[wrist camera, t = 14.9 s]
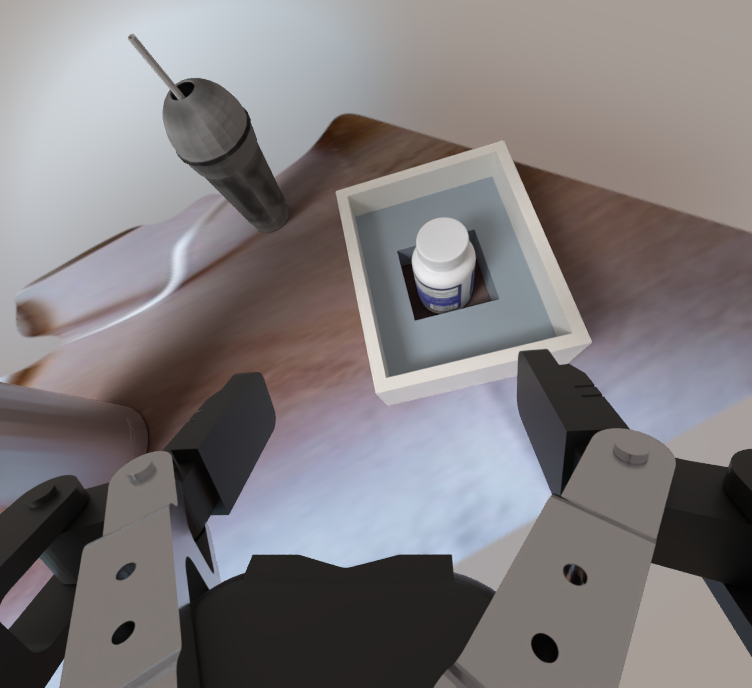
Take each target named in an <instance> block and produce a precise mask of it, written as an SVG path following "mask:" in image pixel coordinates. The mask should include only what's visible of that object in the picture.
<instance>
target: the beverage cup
mask: <svg viewBox="0 0 752 688" xmlns="http://www.w3.org/2000/svg"><path fill="white" fill-rule="evenodd" d="M128 40H129V41H130V42H131V43H132V45H133V46H134V47H135V48H136V49H137V51H138V52H139V53H140V54H141V55H142V57H143V58H144V59H145V60H146V61H147V62H148V64H149V65H150V66H151V67H152V68H153V70H154V71H155V72H156V73H157V74H158V76H159V77H160V78H161V79H162V80H163V82H164V83H165V84H166V85H167V86H168V87H169V89H170V91H169V92H168V94H167V96H166V98H165V101H164V106H163V122H164V126H165V130H166V133H167V136H168V138H169V140H170V142H171V144H172V146H173V147H174V148H175V150H176V153H177V154H178V156H179V157H180V158H181V160H183V162H184V163H187V164H189V165H190V167H191V168H193V169H194V170H195V171H196V172H197V173H199V174H200V175H201V176H204V177H205V178H206V179H207V180H208V181H209V182H210V183H211V184H212V185H213V186H214V187H215V188H216V189H217V190H218V191H219V192H220V193H221V194H222V195H223V196H224V197H225V198H226V199H227V200H228V201H229V202H230V203H231V204H232V205H233V206H234V207H235V208H236V209H237V210H238V211H239V212H240V213H241V214H242V215H243V216H244V217H245V218H246V219H247V220H248V221H249V222H250V223H251V224H253V225H254V226H255V227H256V228H257V229H258V230H259V231H261V232H264V233H270V232H274V231H276V230H278V229H280V228H281V227H282V226H284V224H285V223H286V222H287V220H288V217H289V209H288V207H287V205H286V203H285V200H284V197H283V195H282V193H281V191H280V189H279V187H278V185H277V182H276V180H275V178H274V176H273V174H272V172H271V170H270V168H269V166H268V164H267V162H266V160H265V158H264V155H263V153H262V151H261V149H260V147H259V145H258V143H257V138H256V135H255V132H254V130H253V127H252V125H251V122H250V121H251V119H250V117H249V115H248V112H247V111H246V110H245V109H244V108H243V107H242V106H241V104H240V103H239V101H238V100H237V99H236V98H235V97H234V96H233V95H232V94H231V93H229V92H228V91H227V90H226V89H225V88H223V87H222V86H220V85H219V84H217V83H214V82H212V81H209V80H206V79H201V78H191V79H185V80H182V81H181V82H179V83H177V84H176V85H175V84H174V83H173V82H172V80H171V79H170V78H169V77H168V76H167V74H166V73H165V72H164V71H163V70H162V68H161V67H160V66H159V64H158V63H157V62H156V61H155V60H154V58H153V57H152V56H151V55H150V54H149V52H148V51H147V50H146V49H145V47H144V46H143V45H142V44H141V42H140V41H139V40H138V39H137V38H136V37H135V35H134V34H131V35H129V37H128Z"/></svg>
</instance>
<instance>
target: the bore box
mask: <svg viewBox="0 0 752 688" xmlns="http://www.w3.org/2000/svg"><path fill="white" fill-rule="evenodd" d="M336 196H337V201H338V206H339V211H340V216H341V221H342V226H343V231H344V236H345V241H346V246H347V251H348V256H349V261H350V266H351V271H352V276H353V281H354V286H355V291H356V296H357V301H358V306H359V311H360V316H361V321H362V326H363V331H364V336H365V341H366V347H367V352H368V357H369V362H370V367H371V372H372V377H373V382H374V387H375V392H376V394H377V395H378V396H379V397H380V398H381V399H382V400H383V401H384V402H385V403H386V404H387V405H388V406H390V405H394V404H398V403H403V402H407V401H411V400H416V399H420V398H424V397H429V396H433V395H437V394H441V393H446V392H450V391H454V390H459V389H463V388H467V387H472V386H476V385H480V384H484V383H489V382H493V381H497V380H502V379H506V378H510V377H515V376H517V371H518V354H519V352H520V351H525V350H537V349H548V350H549V351H550V352H551V354H552V355H553V357H554V358H555V360H556V361H557V362H558V364H559V365H563V364H568V363H569V362H570V361H571V360H572V359H573V358H575V357H576V356H577V355H578V354H579V353H580V352H582V351H583V350H584V349H585V348H586V347H587V346H589V345H590V344H591V343H592V341H591V338H590V336H589V334H588V332H587V329H586V327H585V325H584V322H583V320H582V318H581V316H580V313H579V311H578V309H577V306H576V304H575V302H574V300H573V297H572V295H571V293H570V290H569V288H568V286H567V284H566V281H565V279H564V277H563V274H562V272H561V270H560V268H559V265H558V263H557V261H556V258H555V256H554V254H553V252H552V249H551V247H550V245H549V242H548V240H547V238H546V236H545V233H544V231H543V229H542V226H541V224H540V222H539V220H538V217H537V215H536V213H535V210H534V208H533V206H532V204H531V201H530V199H529V197H528V194H527V192H526V190H525V188H524V185H523V183H522V181H521V178H520V176H519V174H518V172H517V169H516V167H515V165H514V162H513V160H512V158H511V156H510V153H509V151H508V149H507V146H506V144H505V142H504V140H502V141H499V142H496V143H493V144H489V145H486V146H483V147H480V148H476V149H473V150H469V151H466V152H463V153H460V154H456V155H453V156H450V157H446V158H443V159H440V160H437V161H433V162H430V163H427V164H423V165H420V166H417V167H413V168H410V169H407V170H404V171H400V172H397V173H394V174H390V175H387V176H384V177H381V178H377V179H374V180H371V181H367V182H364V183H361V184H358V185H354V186H351V187H348V188H344V189H341V190H338V191H336ZM443 217H446V218H452V219H455V220H457V221H459V222H461V223H462V224H463V225H464V226H465V228H466V229H467V232H468V235H469V241H470V242H471V244H472V245H473V248H474V250H475V255H476V259H477V261H478V264H479V267H480V270H481V273H482V276H483V279H484V282H485V285H486V287H487V290H488V293H489V296H490V299H491V301H490V302H487V303H483V304H479V305H475V306H471V307H467V308H463V309H459V310H455V311H451V312H448V313H444V314H440V315H436V316H432V317H428V318H424V319H420V320H416V321H415V320H414V316H413V312H412V308H411V304H410V300H409V296H408V292H407V288H406V285H405V281H404V277H403V273H402V269H401V267H402V266H406V265H409V264H412V256H413V252H414V249H415V248H416V238H417V234H418V232H419V230H420V229H421V228H422V227H423V226H424V225H425V224H426V223H427V222H429V221H431V220H433V219H436V218H443Z"/></svg>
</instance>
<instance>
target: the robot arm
mask: <svg viewBox="0 0 752 688" xmlns="http://www.w3.org/2000/svg"><path fill="white" fill-rule="evenodd" d="M517 404H518V410H519V414H520V417H521V420H522V422H523V425H524V427H525V429H526V432H527V434H528V437H529V439H530V442H531V444H532V446H533V449H534V451H535V454H536V456H537V459H538V461H539V463H540V466H541V468H542V471H543V473H544V476H545V478H546V481H547V483H548V485H549V488H550V490H551V493H552V495H551V496H550V498H549V499H548V501H547V503H546V504H545V506H544V508H543V510H542V511H541V513H540V515H539V517H538V519H537V520H536V522H535V524H534V526H533V527H532V529H531V531H530V533H529V535H528V536H527V538H526V540H525V542H524V543H523V545H522V547H521V549H520V551H519V552H518V554H517V556H516V558H515V560H514V561H513V563H512V565H511V567H510V568H509V570H508V572H507V574H506V576H505V577H504V579H503V581H502V583H501V585H500V586H499V588H498V590H497V592H496V591H494V590H493V589H491V588H490V587H488V586H486V585H484V584H482V583H480V582H479V581H476V580H474V579H472V578H469V577H467V576H464V575H460V574H457V573H454V572H453V563H452V555H396V556H392V557H388V558H385V559H381V560H377V561H373V562H369V563H365V564H361V565H357V566H354V567H349V568H343V567H338V566H335V565H332V564H328V563H325V562H322V561H318V560H315V559H311V558H308V557H305V556H301V555H252V558H251V560H250V563H249V565H248V567H247V570H246V572H245V573H243V574H240V575H238V576H235V577H232V578H230V579H228V580H226V581H224V582H222V583H221V579H220V575H219V570H218V565H217V561H216V556H215V551H214V546H213V542H212V537H211V532H210V529H209V527H208V525H207V523H206V522H207V521H208V519H209V517H210V515H229V514H230V512H231V510H232V508H233V506H234V504H235V502H236V501H237V499H238V497H239V495H240V493H241V491H242V489H243V487H244V485H245V483H246V482H247V480H248V478H249V476H250V474H251V472H252V470H253V468H254V466H255V464H256V463H257V461H258V459H259V457H260V455H261V453H262V451H263V449H264V447H265V445H266V444H267V442H268V440H269V438H270V436H271V434H272V432H273V430H274V427H275V421H276V416H275V411H274V407H273V404H272V401H271V398H270V395H269V392H268V389H267V386H266V383H265V380H264V378H263V376H262V374H261V373H259V372H253V373H241V374H235V375H234V376H233V377H232V378H231V379H230V380H229V381H228V383H227V384H226V385H225V386H224V387H223V389H222V390H220V391H219V392H217V393H216V394H214V395H213V396H211V397H210V398H209V399H207V400H206V401H205V402H204V404H203V405H202V406H201V407H200V408H199V409H198V410H197V411H198V412H197V413H195V414H194V415H193V416H192V417H191V418H190V422H187V423H186V424H185V425H184V426H183V428H182V429H181V430H180V431H179V432H178V433H177V434H176V436H175V437H174V438H173V439H172V440H171V441H170V442H169V444H168V445H167V446H166V447H165V448H164V449H163V450H162V451H155V452H150V453H147V454H146V452H147V446H148V432H147V428H146V424H145V422H144V420H143V418H142V417H141V415H140V414H139V413H138V412H137V411H136V410H134V409H132V408H130V407H127V406H123V405H118V404H113V403H107V402H102V401H97V400H92V399H87V398H82V397H77V396H71V395H66V394H61V393H55V392H50V391H45V390H39V389H34V388H29V387H23V386H18V385H13V384H7V383H2V382H0V509H2V508H7V509H6V510H5V511H3V512H2V513H1V514H0V604H1V602H2V600H3V598H4V597H5V595H6V594H7V593H8V591H9V590H10V589H11V588H12V587H13V586H14V585H15V584H16V582H17V581H18V580H19V579H20V578H21V577H22V576H23V575H24V574H25V572H26V571H27V570H28V569H29V568H30V567H31V566H32V565H33V563H34V562H35V561H36V560H37V559H38V558H39V557H40V559H41V560H42V561H43V562H44V563H45V564H46V566H47V567H48V568H49V569H50V570H51V571H52V572H53V574H54V575H53V576H52V577H51V579H50V580H49V581H48V582H47V583H46V585H45V586H44V587H43V588H42V590H41V591H40V592H39V593H38V594H37V596H36V597H35V598H34V599H33V600H32V602H31V603H30V604H29V605H28V607H27V608H26V609H25V610H24V611H23V613H22V614H21V615H20V616H19V618H18V619H17V620H16V621H15V622H14V624H13V625H12V626H11V627H10V628H9V630H8V629H7V628H6V627H5V626H4V625H2V624H1V622H0V688H45V687H46V685H47V683H48V682H49V680H50V679H51V677H52V676H53V674H54V673H55V671H56V670H57V668H58V667H59V665H60V664H61V662H62V661H63V659H64V664H63V670H62V676H61V681H60V687H59V688H618V687H619V683H620V679H621V675H622V671H623V667H624V663H625V660H626V656H627V652H628V648H629V644H630V641H631V637H632V633H633V629H634V625H635V621H636V618H637V614H638V610H639V606H640V602H641V598H642V595H643V591H644V587H645V583H646V579H647V576H648V572H649V568H650V564H651V563H653V564H657V565H660V566H664V567H668V568H671V569H675V570H678V571H682V572H686V573H689V574H693V575H697V576H701V577H702V578H703V579H704V581H705V582H706V584H707V586H708V587H709V589H710V590H711V592H712V594H713V595H714V597H715V598H716V600H717V602H718V603H719V605H720V607H721V608H722V610H723V611H724V613H725V615H726V616H727V618H728V620H729V621H730V622H731V624H732V626H733V628H734V629H735V630H736V632H737V634H738V635H739V637H740V639H741V640H742V642H743V644H744V645H745V647H746V648H747V650H748V652H749V653H750V655H751V656H752V449H747V450H742V451H739V452H737V453H736V454H734V455H733V457H732V458H731V461H730V464H729V467H723V466H717V465H711V464H705V463H699V462H693V461H687V460H683V459H678V458H675V457H674V455H673V453H672V452H671V451H670V450H669V448H667V447H666V446H665V445H664V444H663V443H661V442H660V441H659V440H657V439H655V438H653V437H651V436H649V435H647V434H644V433H641V432H638V431H634V430H630V429H629V427H628V426H627V425H626V424H625V422H624V421H623V420H622V419H621V417H620V416H619V415H618V414H617V412H616V411H615V410H614V409H613V407H612V406H611V405H610V404H609V402H608V401H607V400H606V399H605V397H602V394H601V392H600V391H599V390H598V389H597V387H594V384H593V382H592V381H591V380H590V379H589V377H588V376H587V375H586V374H585V373H584V372H582V371H580V370H579V369H577V368H575V367H574V366H572V365H570V364H563V365H559V364H558V362H557V361H556V360H555V358H554V357H553V355H552V354H551V352H550V351H549V350H548V349H537V350H525V351H520V352H519V354H518V371H517Z"/></svg>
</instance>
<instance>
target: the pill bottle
mask: <svg viewBox="0 0 752 688" xmlns="http://www.w3.org/2000/svg"><path fill="white" fill-rule="evenodd" d="M475 263H476V255H475V250H474V248H473V245H472V244H471V242H470V241H469V235H468V232H467V229H466V228H465V226H464V225H463V224H462V223H461V222H459V221H457V220H455V219H452V218H446V217H443V218H436V219H433V220H431V221H429V222H427V223H426V224H425V225H424V226H423V227H422V228H421V229H420V230H419V232H418V234H417V238H416V248H415V249H414V252H413V256H412V267H413V272H414V277H415V281H416V286H417V291H418V296H419V299H420V301H421V303H422V304H423V305H424V306H425V307H426V308H427V309H428V310H430V311H432V312H434V313H438V314H444V313H448V312H451V311H455V310H459V309H462V308H463V307H464V306H465V305H466V304H467V303H468V302H469V300H470V298H471V295H472V291H473V283H474V273H475Z"/></svg>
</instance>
